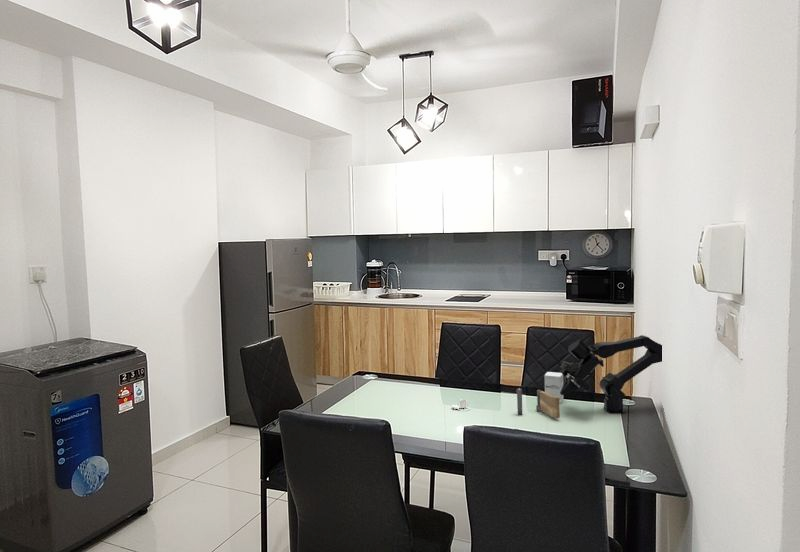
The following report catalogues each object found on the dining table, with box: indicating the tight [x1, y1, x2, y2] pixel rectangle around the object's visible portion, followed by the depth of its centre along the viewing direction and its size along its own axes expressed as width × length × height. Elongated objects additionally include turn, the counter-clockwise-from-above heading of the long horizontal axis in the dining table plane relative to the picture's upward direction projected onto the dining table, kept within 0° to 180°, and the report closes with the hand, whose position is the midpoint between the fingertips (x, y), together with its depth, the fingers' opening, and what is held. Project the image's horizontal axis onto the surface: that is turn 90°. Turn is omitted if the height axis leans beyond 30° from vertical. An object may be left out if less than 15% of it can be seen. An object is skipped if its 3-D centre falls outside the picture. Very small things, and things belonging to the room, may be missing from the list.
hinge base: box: [535, 405, 543, 413], centre depth 216 cm, size 3×3×2 cm
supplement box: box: [544, 371, 564, 405], centre depth 228 cm, size 7×7×13 cm
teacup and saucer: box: [451, 398, 470, 410], centre depth 224 cm, size 9×8×4 cm
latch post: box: [516, 387, 523, 416], centre depth 212 cm, size 2×2×11 cm
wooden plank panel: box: [536, 389, 561, 420], centre depth 210 cm, size 2×14×8 cm, turn 16°
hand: (560, 394), depth 211 cm, fingers closed
